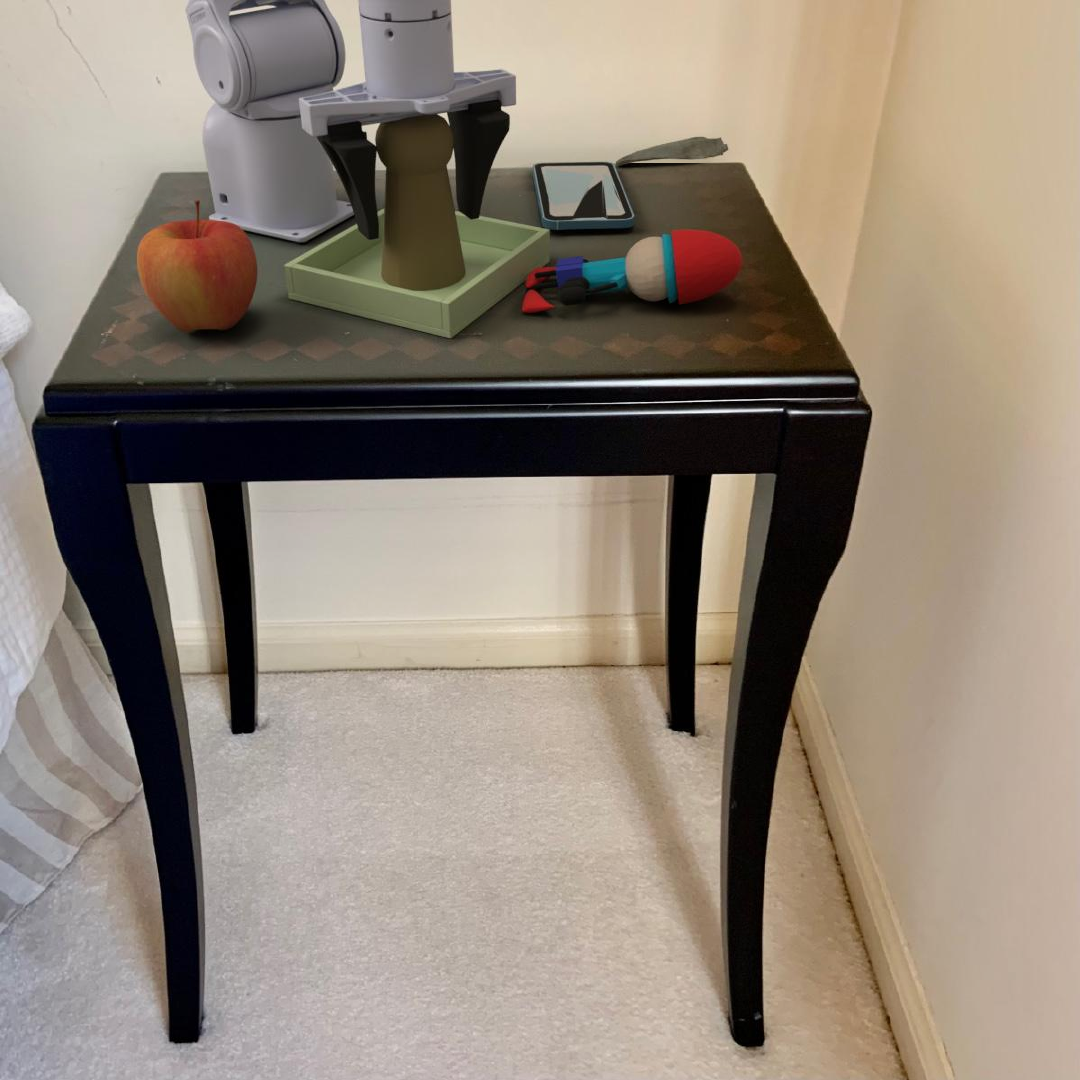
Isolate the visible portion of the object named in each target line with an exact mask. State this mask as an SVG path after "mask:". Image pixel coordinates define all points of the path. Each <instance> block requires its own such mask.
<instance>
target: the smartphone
mask: <svg viewBox="0 0 1080 1080" xmlns="http://www.w3.org/2000/svg"><path fill="white" fill-rule="evenodd" d="M532 178H533V183H534V187H535V189H534V190H535V193H536V199H537V206H538V210H539V216H540V221H541V225H542V227H543V228H544V229H549V230H552V231H558V232H559V231H565V230H596V229H597V230H599V229H600V230H601V229H603V230H604V229H627V228H631V227H633V226H634V225H635V220H636V219H635V217H636V216H635V215H636V214H635V213H634V210H633V207H632V205H631V203H630V200H629V197H628V195H627V192H626V189H625V186H624V185H623V182H622V180H621V177H620V174H619V171H618V169H617V166H616V163H615V164H614V163H613V162H610V161H565V162H563V161H561V162H560V161H559V162H537V163H535V164H534V163H533V165H532Z"/></svg>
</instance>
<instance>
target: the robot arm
mask: <svg viewBox="0 0 1080 1080" xmlns="http://www.w3.org/2000/svg"><path fill="white" fill-rule="evenodd" d="M357 1H358V13H359V23H360V24H359V25H360V36H361V45H362V47H361V48H362V57H363V59H362V60H363V67H364V80H365V81H364V82H360V83H357V84H352V85H349V86H345V87H341V88H338V89H334V88H336V87H337V86H338V85H339V83H340V82H341V80H342V78H343V76H344V72H345V67H346V56H347V54H346V45H345V40H344V36H343V33H342V31H341V28H340V25H339V23H338V22H337V19H336V18H335V17H334V15H333V13H332V12H331V10H330V9H329V7H328V5H327V3H326V1H325V0H188V2H187V5H186V6H185V14H186V19H187V22H188V26H189V29H190V35H191V39H192V44H193V45H192V49H193V60H194V64H195V68H196V72H197V75H198V77H199V80H200V82H201V84H202V86H203V88H204V90H205V91H206V93H207V94H208V95H209V97H210V98H211V99H212V100H213V101H214V103H213V104H212V105H211V106H210V108H209V109H208V111H207V113H206V114H205V117H204V122H203V125H202V126H203V127H202V147H203V152H204V157H205V158H204V159H205V163H206V168H207V175H208V181H209V185H210V190H211V197H212V202H213V206H214V213H212V214H210V215H208V220H217V221H226V222H230V223H233V224H236V225H237V226H239V227H240V228H241V229H242V230H243V231H246V232H251V233H255V234H260V235H264V236H269V237H273V238H277V239H282V240H285V241H291V242H295V243H306V242H308V241H310V240H311V239H313V238H315V237H317V236H318V235H320V234H322V233H324V232H326V231H327V230H329V229H332V228H333V227H335V226H337V225H339V224H340V223H342V222H344V221H346V220H347V219H349V218H351V217H352V216H353V217H354V218H355V222H356V224H357V226H358V230H359V232H360V233H361V234H363V235H364V236H365V237H366V238H367V239H368V240H373V239H378V238H379V221H378V206H377V198H376V197H377V196H376V169H377V167H376V166H377V165H376V163H377V155H378V153H377V147H376V144H374V143H373V142H371V141H370V140H369V139H368V133H367V131H363V126H365V127H366V126H370V125H376V124H380V123H384V122H390V121H396V120H400V119H403V118H407V117H413V116H419V115H434V114H438V115H440V114H446V115H447V119H448V124H449V126H450V127H451V129H452V133H453V136H454V148H453V154H454V166H455V197H456V205H457V210H458V212H461V213H462V214H464V215H465V216H467V217H468V218H469V219H471V220H472V219H477V218H479V216H481V215H480V214H481V210H482V204H483V198H484V195H485V194H484V193H485V190H486V186H487V182H488V179H489V175H490V172H491V170H492V167H493V163H494V161H495V159H496V156H497V155H498V153H499V151H500V149H501V146H502V144H503V143H504V140H505V138H506V137H507V135H508V133H509V131H510V127H511V116H510V114H509V113H508V112H506V111H504V110H502V107H504V108H505V107H511V106H516V105H517V76H516V75H515V74H513V73H511V72H510V71H508V70H505V69H503V68H499V69H491V70H476V71H455V63H454V61H455V60H454V40H453V19H452V18H453V16H452V0H357ZM265 6H267V7H268V6H269V8H263V9H257V10H252V11H247V12H241V13H235V14H230V13H232V12H237V11H242V10H248V9H253V8H254V9H255V8H260V7H265ZM334 169H335V170H334ZM335 171H336V173H337V175H338V178H339V179H340V181H341V183H342V186H343V188H344V190H345V193H346V195H347V198H348V200H349V202H348V201H344V200H338V198H337V190H336V189H337V188H336V179H335Z"/></svg>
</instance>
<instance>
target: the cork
mask: <svg viewBox="0 0 1080 1080" xmlns="http://www.w3.org/2000/svg"><path fill="white" fill-rule="evenodd" d="M374 143H375V146H376V147H377V155H378V156H377V157H378V159H379V160H380V162H381V163H382V164H383V166H384V167H385V181H384V182H385V183H384V204H383V206H384V207H383V209H384V225H383V247H382V270H381V276H382V278H383V280H384V281H385V282H386V283H387V284H389V285H391V286H394V287H399V288H403V289H407V290H412V291H428V290H436V289H441V288H445V287H449V286H451V285H453V284H455V283H458V282H459V281H460V280H461V279H462V278H463V277H464V276H465V272H466V270H465V264H464V259H463V253H462V248H461V242H460V237H459V231H458V226H457V220H456V214H455V211H456V210H455V203H454V199H453V193H452V188H451V182H450V176H449V170H448V164H449V162H450V161H451V159H452V156H453V154H454V136H453V133H452V129H451V127H450V125H449V121H447V119H446V117H443V116H441V115H440V114H434V115H419V116H413V117H407V118H403V119H400V120H396V121H390V122H384V123H379V125H378V127H377V129H376V131H375V138H374Z"/></svg>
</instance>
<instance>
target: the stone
mask: <svg viewBox="0 0 1080 1080" xmlns="http://www.w3.org/2000/svg"><path fill="white" fill-rule="evenodd" d="M728 150H729V146H728V143H724V141H723V139H722V137H717V138H716V137H715V138H714V137H713V138H707V137H706V136H693V137H689V138H685V139H681V140H680V139H679V140H676V141H672V142H666V143H662V144H658V145H654V146H651V147H647V148H644V149H639V150H636V151H635V152H632V153H630V154H627V155H625V156H622V157H620V158H619V159H617V160H616V161H615V166H616V167H621V166H623V165H627V164H631V163H636V162H637V163H638V162H648V161H654V160H656V161H657V160H669V159H670V160H689V161H690V160H705V159H708V158H716V157H719V156H724V153H726V152H727V151H728Z"/></svg>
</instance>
